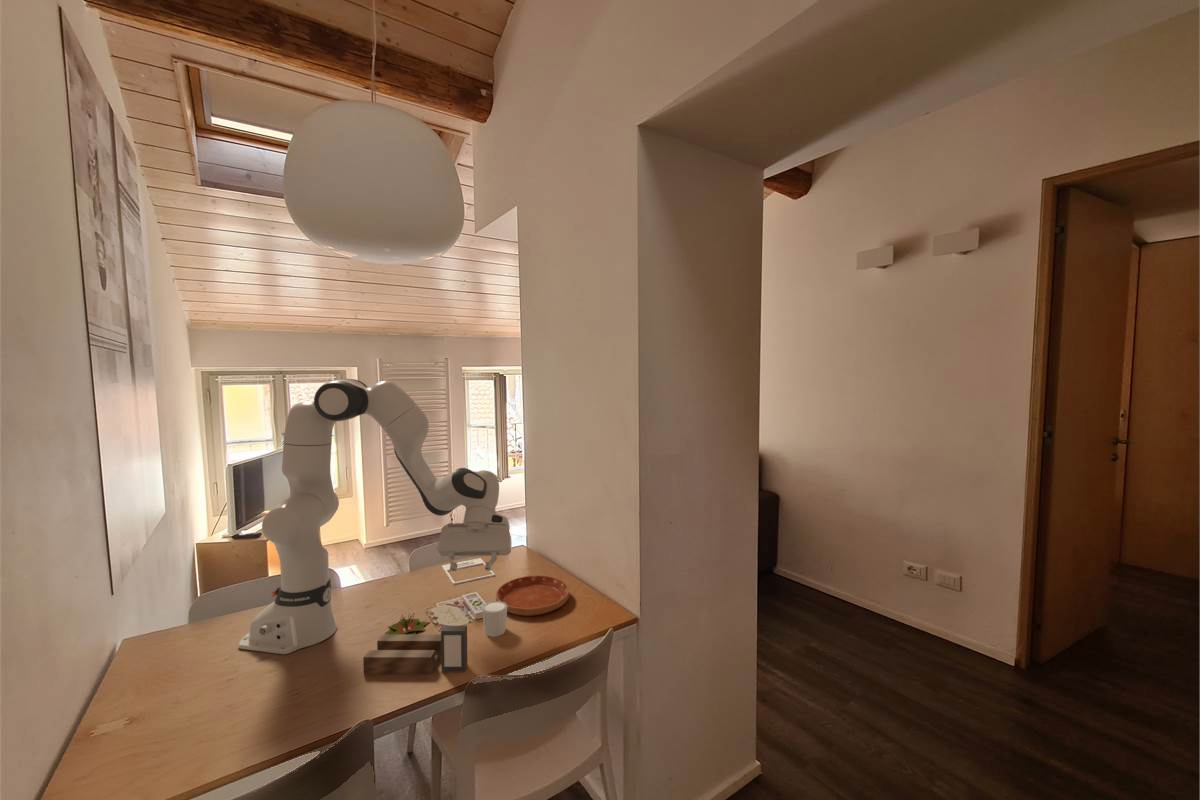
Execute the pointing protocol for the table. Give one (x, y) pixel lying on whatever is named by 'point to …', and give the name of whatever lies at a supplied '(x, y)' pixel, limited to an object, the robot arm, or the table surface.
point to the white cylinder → (494, 618)
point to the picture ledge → (403, 654)
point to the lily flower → (404, 623)
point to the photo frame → (465, 565)
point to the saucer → (533, 595)
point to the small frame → (454, 648)
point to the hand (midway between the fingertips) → (470, 570)
